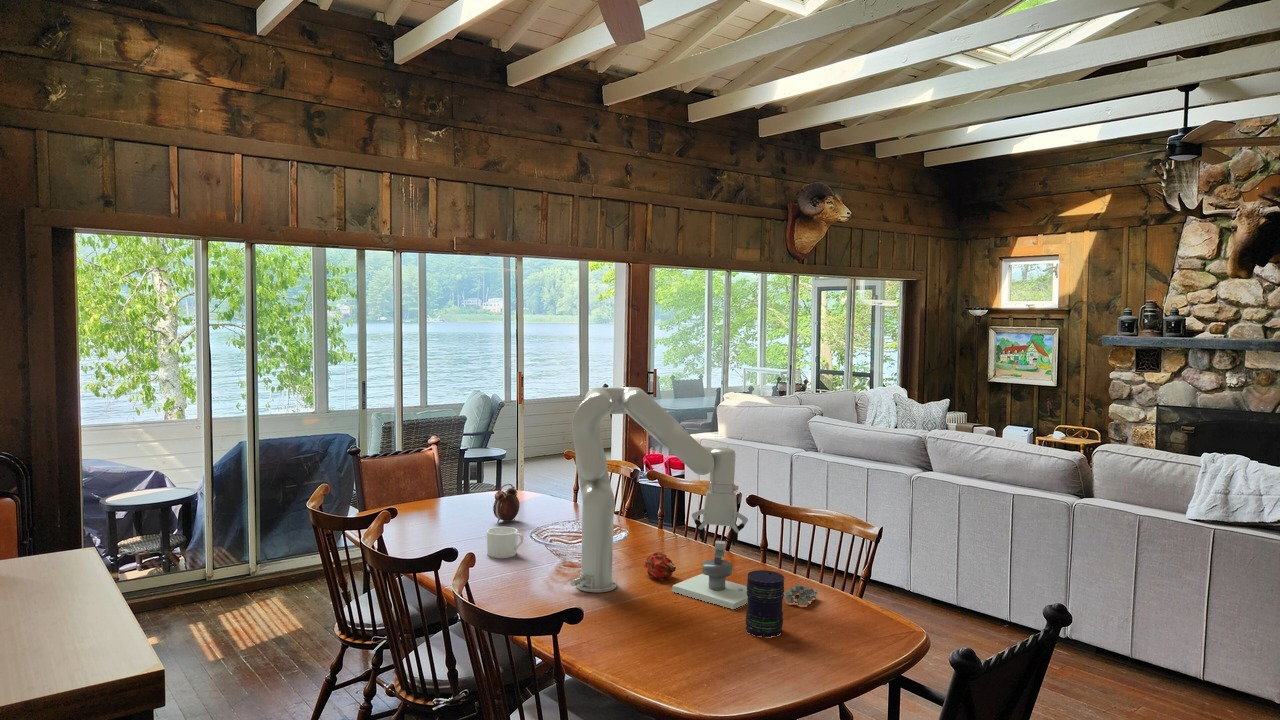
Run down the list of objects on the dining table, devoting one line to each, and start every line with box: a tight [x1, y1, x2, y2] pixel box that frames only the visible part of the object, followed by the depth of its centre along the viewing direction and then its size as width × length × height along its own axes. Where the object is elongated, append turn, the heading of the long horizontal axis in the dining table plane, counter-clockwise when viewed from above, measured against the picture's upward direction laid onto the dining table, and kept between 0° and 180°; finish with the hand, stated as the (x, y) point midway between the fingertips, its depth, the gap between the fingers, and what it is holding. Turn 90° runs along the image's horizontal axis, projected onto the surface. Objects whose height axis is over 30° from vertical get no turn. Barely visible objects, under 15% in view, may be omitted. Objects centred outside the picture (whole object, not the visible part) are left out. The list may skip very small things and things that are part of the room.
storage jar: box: [745, 569, 785, 637], centre depth 215 cm, size 10×10×15 cm
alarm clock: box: [492, 483, 520, 524], centre depth 318 cm, size 11×5×15 cm, turn 144°
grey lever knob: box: [701, 540, 734, 577], centre depth 245 cm, size 15×9×6 cm, turn 170°
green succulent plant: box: [784, 583, 819, 606], centre depth 238 cm, size 11×8×4 cm
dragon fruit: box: [643, 551, 677, 581], centre depth 256 cm, size 8×8×12 cm
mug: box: [486, 526, 525, 559], centre depth 276 cm, size 13×10×8 cm
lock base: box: [671, 573, 748, 610], centre depth 242 cm, size 15×22×6 cm
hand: (718, 542), depth 250 cm, fingers open, 9 cm apart
